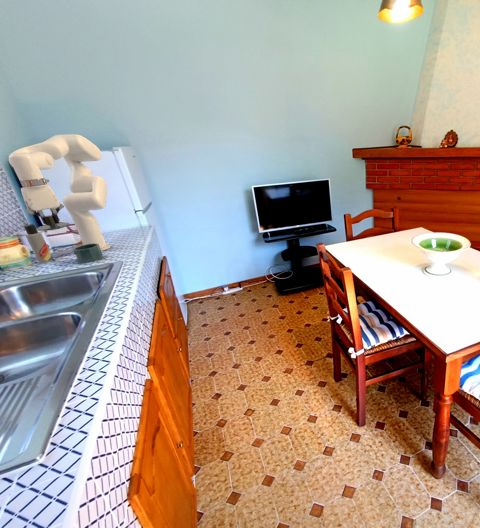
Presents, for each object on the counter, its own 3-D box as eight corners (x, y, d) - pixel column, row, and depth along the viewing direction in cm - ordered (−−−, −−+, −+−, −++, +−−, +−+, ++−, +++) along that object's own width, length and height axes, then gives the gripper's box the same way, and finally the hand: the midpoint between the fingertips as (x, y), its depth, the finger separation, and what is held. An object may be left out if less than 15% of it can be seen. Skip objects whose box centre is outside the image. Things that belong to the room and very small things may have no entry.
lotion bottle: (56, 260, 155) (39, 223, 147) (42, 265, 150) (23, 226, 142) (51, 259, 157) (33, 222, 149) (37, 263, 152) (18, 225, 144)
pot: (75, 262, 151) (69, 248, 148) (98, 255, 159) (92, 242, 156) (84, 265, 146) (78, 251, 144) (107, 258, 155) (102, 244, 152)
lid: (33, 230, 137) (27, 217, 134) (64, 223, 146) (59, 211, 143) (43, 233, 132) (37, 220, 129) (74, 226, 141) (69, 213, 138)
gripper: (53, 180, 139) (70, 218, 146) (4, 186, 126) (26, 228, 133) (60, 181, 135) (77, 220, 143) (11, 187, 122) (32, 230, 130)
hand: (52, 223), depth 138 cm, fingers closed on lid, 2 cm apart
